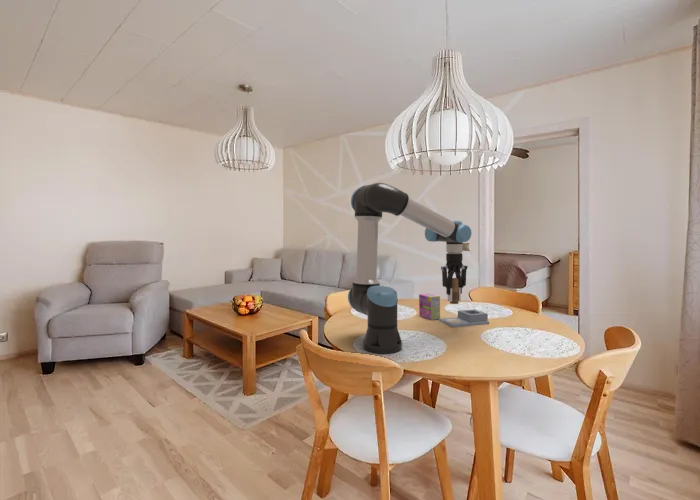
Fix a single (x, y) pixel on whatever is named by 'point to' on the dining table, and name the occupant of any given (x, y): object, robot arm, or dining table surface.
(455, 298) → the peg
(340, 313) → the dining table surface
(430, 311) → the box
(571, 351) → the dining table surface
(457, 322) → the socket board
